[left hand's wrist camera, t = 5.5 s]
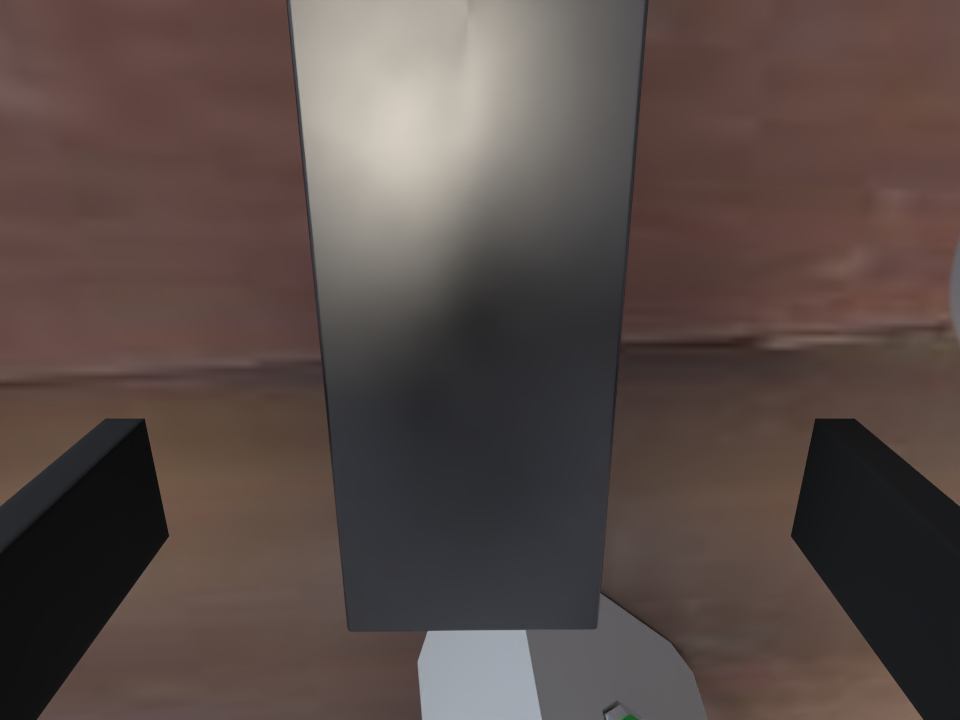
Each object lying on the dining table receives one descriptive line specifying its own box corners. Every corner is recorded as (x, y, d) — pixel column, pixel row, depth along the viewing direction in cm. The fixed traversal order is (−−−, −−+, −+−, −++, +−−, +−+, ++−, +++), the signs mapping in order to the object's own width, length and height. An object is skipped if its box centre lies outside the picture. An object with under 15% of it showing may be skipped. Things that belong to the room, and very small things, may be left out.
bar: (550, 428, 23) (598, 631, 14) (395, 429, 23) (347, 632, 14) (589, -533, 14) (778, -1565, 5) (343, -534, 14) (131, -1576, 5)
